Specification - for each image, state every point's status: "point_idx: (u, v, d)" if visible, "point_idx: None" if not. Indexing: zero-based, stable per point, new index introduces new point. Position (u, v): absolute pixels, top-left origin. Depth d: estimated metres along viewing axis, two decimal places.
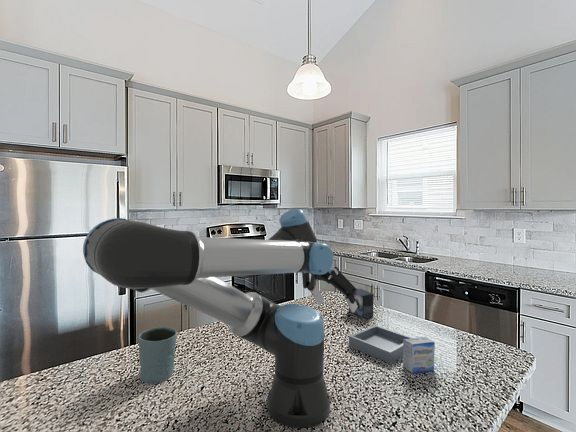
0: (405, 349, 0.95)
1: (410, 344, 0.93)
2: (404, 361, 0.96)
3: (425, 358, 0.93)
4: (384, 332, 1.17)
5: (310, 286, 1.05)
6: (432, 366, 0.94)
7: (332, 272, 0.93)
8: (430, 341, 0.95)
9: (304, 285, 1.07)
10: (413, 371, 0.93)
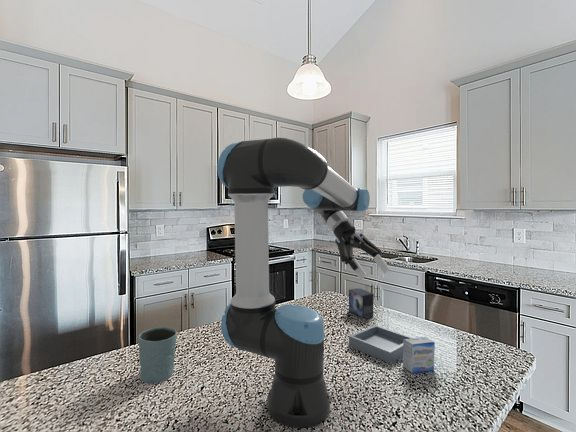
0: (405, 349, 0.95)
1: (410, 344, 0.93)
2: (404, 361, 0.96)
3: (425, 358, 0.93)
4: (384, 332, 1.17)
5: (351, 253, 1.06)
6: (432, 366, 0.94)
7: (361, 234, 1.18)
8: (430, 341, 0.95)
9: (346, 254, 1.04)
10: (413, 371, 0.93)
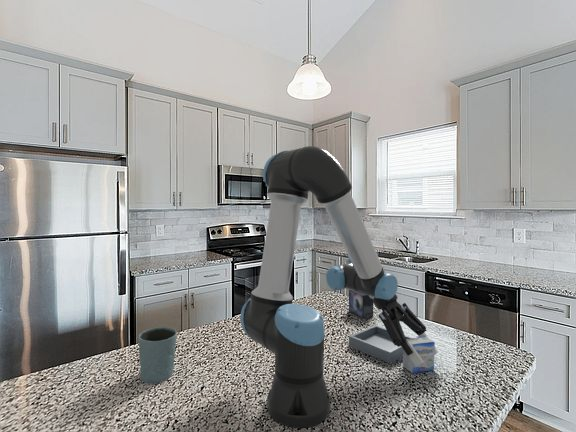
0: None
1: None
2: (404, 361, 0.96)
3: (425, 358, 0.93)
4: (384, 332, 1.17)
5: (402, 333, 0.94)
6: (432, 366, 0.94)
7: (405, 303, 1.05)
8: (430, 341, 0.95)
9: (398, 336, 0.92)
10: (413, 371, 0.92)
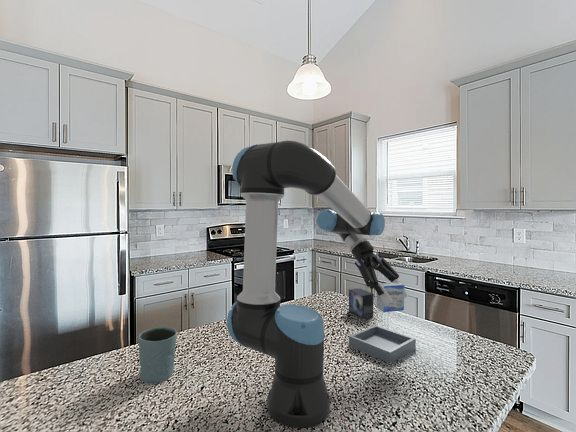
0: None
1: None
2: (377, 303, 1.07)
3: (395, 299, 1.04)
4: (384, 332, 1.17)
5: (375, 277, 1.05)
6: (402, 307, 1.05)
7: None
8: (400, 284, 1.05)
9: (371, 278, 1.03)
10: (384, 310, 1.03)
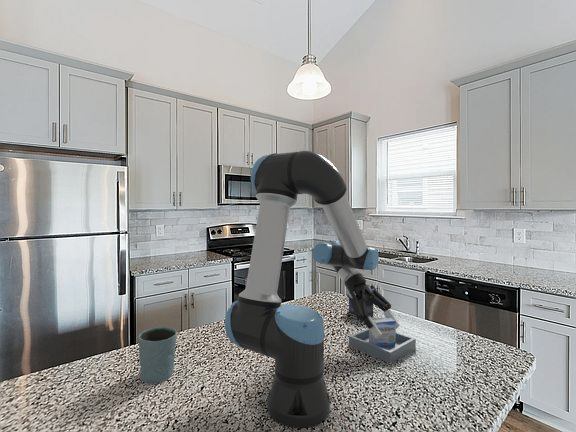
0: None
1: (374, 322, 1.07)
2: (370, 338, 1.10)
3: (387, 334, 1.07)
4: None
5: (365, 310, 1.08)
6: (393, 342, 1.08)
7: (372, 286, 1.19)
8: (392, 320, 1.09)
9: (361, 312, 1.06)
10: None
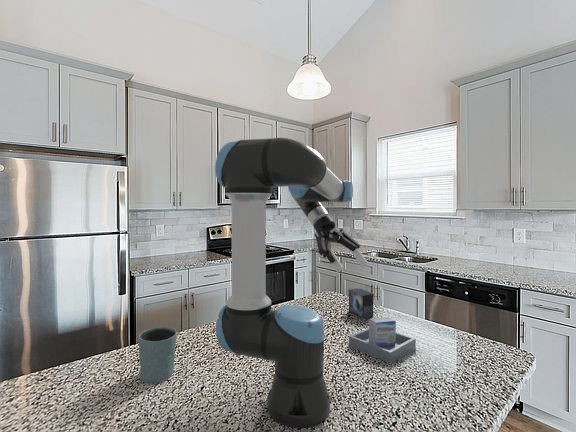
0: (371, 327, 1.09)
1: (374, 322, 1.07)
2: (369, 338, 1.10)
3: (387, 334, 1.07)
4: None
5: (329, 246, 1.08)
6: (393, 342, 1.08)
7: (341, 229, 1.20)
8: (392, 320, 1.09)
9: (324, 247, 1.06)
10: None
